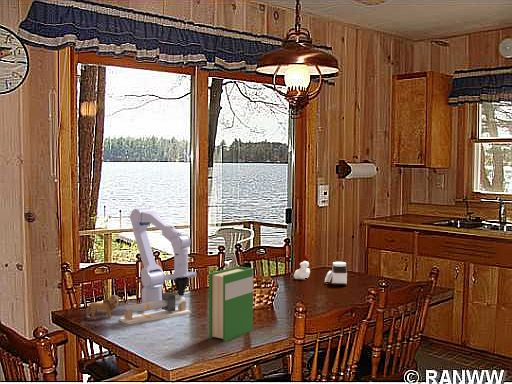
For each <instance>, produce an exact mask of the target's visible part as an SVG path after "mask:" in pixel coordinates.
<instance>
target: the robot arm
mask: <svg viewBox="0 0 512 384" xmlns="http://www.w3.org/2000/svg"><path fill="white" fill-rule="evenodd" d="M129 220H130V221H131V226H132V232H133V235H134V237H135V238H134V239H135V243H136V244H137V248H138V251H139V255H140V259H141V262H142V266H143V268H142V269H141V271H140V277H141V278H140V280H141V284H142V286H143V287H142V290H141V303H146V302H154V301H160V300H162V288H163V286H164V284H165V282H166V281H173V282H174V284H175V286H176V289H177V294H178V296H180V297H184V295H185V292H186V288H187V286H188V283H189V282H190V278H196V277H198V276H197V275H198V273H197V272H196V271H189V265H188V264H189V248H190V247H191V242H192V241H191V238H190V236H189V235H188V234H182V232H181V231H179V230H178V229H176V228H175V226H174V225H172V224H169V225H168V224H166V222H165V221H164V220H163V219H162V218H161V217H160V216H159V215H158V214H157V211H156V210H154V209H153V208H152V207H146V208H134V209H132V210H131V213H130V215H129ZM151 224H152V225H153V226H154V227H155V228H157V229H158V230H159V231H161V235H162V236H163V237H164V238H165V239H166V240H168V241H169V242H170V245H171V246H172V249H173V251H172V252H173V254H174V258H173V260H174V263H173V264H174V265H173V267H174V269H173V272H174V273H170V274H165V272H164V271H163V269H162V266H160V265H158V263H156V260H155V257H154V253H153V250H152V246H151V244H150V239H149V237H148V233H147V229H148V228H149V226H150V225H151Z"/></svg>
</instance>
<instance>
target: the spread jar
mask: <svg viewBox="0 0 512 384" xmlns="http://www.w3.org/2000/svg"><path fill="white" fill-rule="evenodd" d="M347 277H348V270H347V262H344V261H333V262H332V269H331V270H329V271H328V272H327V273H326V275H325V278H324V283H325V282H329V283H330V281H331V284H335V285H345V284H346V285H347V281H348V278H347ZM346 285H345V286H346Z"/></svg>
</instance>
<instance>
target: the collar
mask: <svg viewBox="0 0 512 384" xmlns="http://www.w3.org/2000/svg"><path fill="white" fill-rule="evenodd" d="M175 298H176V294H173V293H171V292H164V293H162V300H166V299H167V300H168V307H162V308H161V310H162V311H163V310H166V311H168V312H171V311H175V308H176V305H175Z"/></svg>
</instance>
